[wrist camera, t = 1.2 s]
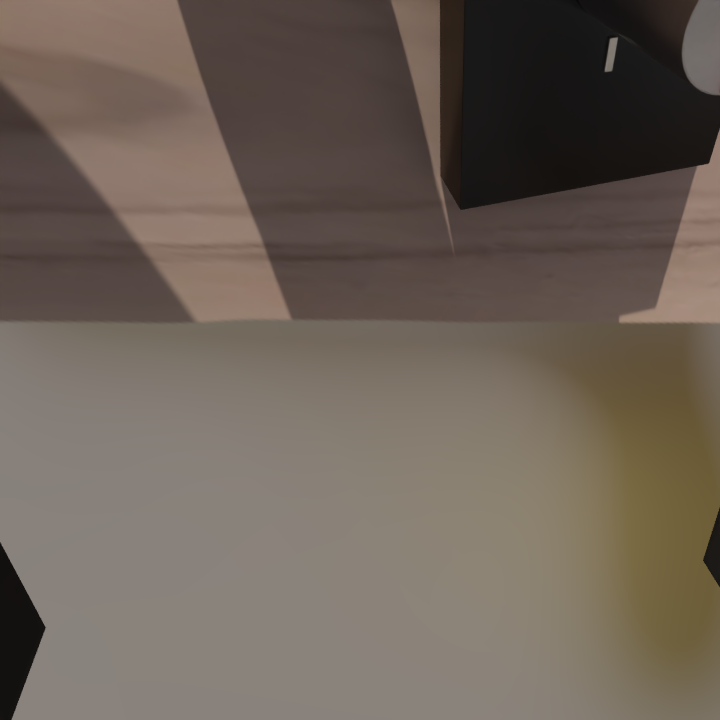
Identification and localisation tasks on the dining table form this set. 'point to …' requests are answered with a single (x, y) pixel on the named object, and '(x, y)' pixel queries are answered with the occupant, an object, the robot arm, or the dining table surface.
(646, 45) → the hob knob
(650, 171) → the hob
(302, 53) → the dining table surface
